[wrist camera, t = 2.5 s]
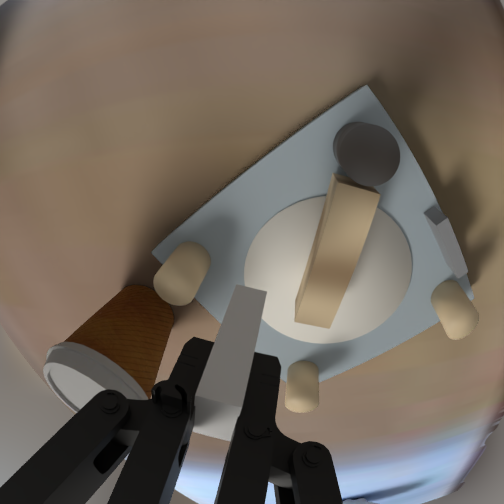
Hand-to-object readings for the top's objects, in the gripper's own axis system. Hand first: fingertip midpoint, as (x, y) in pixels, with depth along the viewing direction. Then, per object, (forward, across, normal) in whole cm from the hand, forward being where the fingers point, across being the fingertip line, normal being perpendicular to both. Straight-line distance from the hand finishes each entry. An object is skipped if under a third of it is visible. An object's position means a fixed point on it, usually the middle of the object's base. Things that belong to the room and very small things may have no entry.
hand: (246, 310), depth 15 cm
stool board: (+9, +5, -2) cm, 11 cm away
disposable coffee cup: (+9, -10, -11) cm, 18 cm away
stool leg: (+7, +5, +3) cm, 9 cm away
